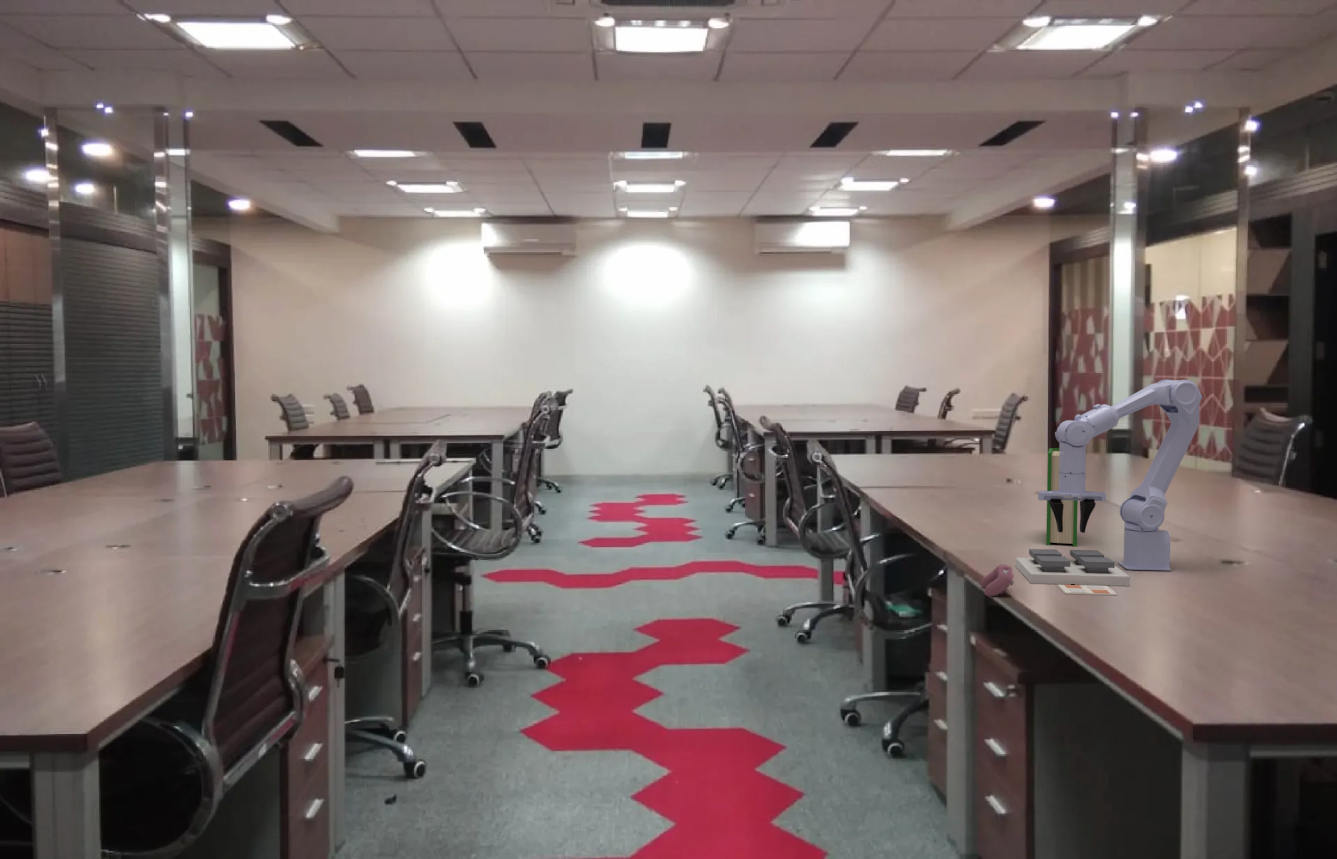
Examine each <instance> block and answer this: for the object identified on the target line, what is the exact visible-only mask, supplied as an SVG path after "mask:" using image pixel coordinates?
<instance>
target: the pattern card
mask: <svg viewBox="0 0 1337 859" xmlns="http://www.w3.org/2000/svg"><path fill="white" fill-rule="evenodd" d="M1056 586H1057V587H1058V588H1059V590H1061V591H1062V592H1063V593H1064V594H1065V595H1081V596H1082V595H1087V596H1089V595H1090V596H1118V594H1117V593H1116V591H1114V590H1113V589H1112V588H1111V587H1109V586H1108V585H1071V584H1056Z"/></svg>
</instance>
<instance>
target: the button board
mask: <svg viewBox="0 0 1337 859" xmlns="http://www.w3.org/2000/svg"><path fill="white" fill-rule="evenodd" d="M1067 559H1068V560H1069V561H1071V562H1070V567H1065V570H1064V572H1043V571H1042V566H1040V565H1039V564H1035V563H1034V559H1033V558H1032V557H1015V567H1016V569H1018V570H1019V572H1020V573H1021V574H1022V575H1023V576H1024V577H1025V579H1026V580H1027V581H1028V582H1029V583H1030V584H1033V585H1035V584H1037V585H1038V584H1039V585H1041V584H1042V585H1043V584H1044V585H1071V584H1075V585H1098V586H1108V587H1109V586H1114V587H1115V586H1116V587H1131V576H1129V575H1128V574H1127V573H1126V572H1125V571H1123V570H1121V569H1120V568H1119V567H1117V565H1115V568H1108V573H1086V572H1085V571H1084V570H1085V567H1084V566H1083V565H1077V564H1075V559H1074V558H1067Z"/></svg>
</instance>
